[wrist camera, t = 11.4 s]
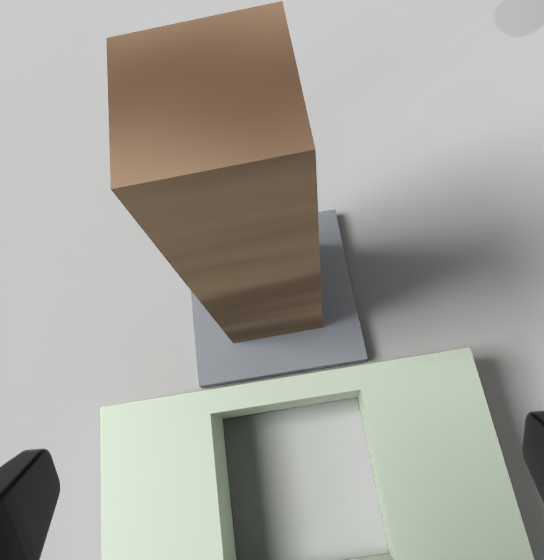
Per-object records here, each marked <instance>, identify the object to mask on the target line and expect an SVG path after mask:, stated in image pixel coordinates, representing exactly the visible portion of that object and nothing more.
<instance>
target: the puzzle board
mask: <svg viewBox="0 0 544 560" xmlns="http://www.w3.org/2000/svg"><path fill="white" fill-rule="evenodd" d="M357 397H358V402H359V406H360V411H361V416H362V421H363V426H364V431H365V436H366V441H367V446H368V451H369V455H370V460H371V465H372V470H373V475H374V480H375V485H376V490H377V495H378V500H379V504H380V509H381V514H382V519H383V524H384V529H385V534H386V539H387V544H388V548H389V553H388V554H381V555H374V556H367V557H360V558H353V559H346V560H534V557H533V554H532V550H531V547H530V544H529V541H528V537H527V534H526V531H525V527H524V524H523V521H522V517H521V514H520V511H519V507H518V504H517V501H516V497H515V494H514V491H513V487H512V484H511V481H510V478H509V474H508V471H507V468H506V464H505V461H504V458H503V454H502V451H501V448H500V444H499V441H498V438H497V434H496V431H495V428H494V425H493V421H492V418H491V415H490V411H489V408H488V405H487V401H486V398H485V395H484V391H483V388H482V385H481V381H480V378H479V375H478V371H477V368H476V365H475V362H474V358H473V355H472V352H471V348H470V347H469V348H463V349H456V350H450V351H444V352H438V353H432V354H426V355H420V356H413V357H407V358H401V359H395V360H389V361H383V362H376V363H370V364H364V365H358V366H352V367H346V368H340V369H333V370H327V371H321V372H315V373H309V374H303V375H296V376H290V377H284V378H278V379H272V380H266V381H260V382H253V383H247V384H241V385H235V386H229V387H223V388H217V389H210V390H204V391H198V392H192V393H186V394H180V395H173V396H167V397H161V398H155V399H149V400H143V401H137V402H130V403H124V404H118V405H112V406H106V407H100V447H101V560H236V550H235V540H234V530H233V520H232V510H231V500H230V490H229V480H228V470H227V460H226V449H225V439H224V429H223V419H225V418H231V417H237V416H244V415H250V414H256V413H263V412H269V411H275V410H281V409H288V408H294V407H300V406H307V405H313V404H319V403H325V402H332V401H338V400H344V399H351V398H357Z"/></svg>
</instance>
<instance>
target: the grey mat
mask: <svg viewBox="0 0 544 560" xmlns="http://www.w3.org/2000/svg"><path fill="white" fill-rule="evenodd" d="M318 224H319V247H320V270H321V293H322V316H323V328H318V329H312V330H306V331H301V332H295V333H289V334H284V335H278V336H272V337H267V338H261V339H255V340H250V341H244V342H238V343H232V341H231V340H230V339H229V338H228V336H227V335H226V334H225V333H224V331H223V330H222V329H221V327H220V326H219V325H218V324H217V322H216V321H215V320H214V319H213V317H212V316H211V315H210V314H209V312H208V311H207V310H206V309H205V307H204V306H203V305H202V303H201V302H200V301H199V300H198V298H197V297H196V296H195V295H194V293H193V292H192V291H191V295H192V307H193V319H194V331H195V343H196V355H197V367H198V379H199V386H200V387H201V388H206V387H212V386H218V385H224V384H230V383H236V382H243V381H249V380H255V379H261V378H267V377H273V376H279V375H286V374H292V373H298V372H304V371H310V370H316V369H322V368H329V367H335V366H341V365H347V364H353V363H359V362H365V361H367V359H368V358H367V353H366V348H365V344H364V339H363V335H362V330H361V326H360V321H359V316H358V312H357V307H356V303H355V298H354V293H353V289H352V284H351V280H350V275H349V271H348V266H347V261H346V257H345V252H344V248H343V243H342V238H341V234H340V229H339V225H338V220H337V216H336V211H335V210H329V211H324V212H318Z"/></svg>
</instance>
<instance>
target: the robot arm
mask: <svg viewBox="0 0 544 560" xmlns="http://www.w3.org/2000/svg"><path fill="white" fill-rule="evenodd" d="M522 452H523V457H524V460H525V463H526V465H527V467H528V469H529V472H530V474H531V476H532V478H533V481H534V483H535V485H536V487H537V489H538V492H539V494H540V496H541V498H542V500H543V503H544V411H535V412H530V413H528V414H527V416H526V420H525V428H524V436H523V445H522ZM59 493H60V482H59V478H58V475H57V472H56V469H55V466H54V463H53V460H52V457H51V454H50V452H49V451H48V450H46V449H33V450H25V451H23V452H21V453H20V454H18V455H17V456H16V457H14V458H13V459H11V460H10V461H8V462H7V463H5V464H4V465H3V466H1V467H0V560H39V559H40V556H41V553H42V550H43V546H44V543H45V540H46V536H47V533H48V530H49V527H50V523H51V520H52V517H53V513H54V510H55V507H56V504H57V500H58V497H59Z"/></svg>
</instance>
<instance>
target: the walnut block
mask: <svg viewBox="0 0 544 560" xmlns="http://www.w3.org/2000/svg"><path fill="white" fill-rule="evenodd" d="M107 68H108V103H109V137H110V172H111V190H112V191H113V192H114V194H115V195H116V196H117V197H118V199H119V200H120V201H121V202H122V204H123V205H124V206H125V208H126V209H127V210H128V211H129V213H130V214H131V215H132V216H133V218H134V219H135V220H136V221H137V223H138V224H139V225H140V226H141V228H142V229H143V230H144V232H145V233H146V234H147V235H148V237H149V238H150V239H151V240H152V242H153V243H154V244H155V245H156V247H157V248H158V249H159V250H160V252H161V253H162V254H163V255H164V257H165V258H166V259H167V261H168V262H169V263H170V264H171V266H172V267H173V268H174V269H175V271H176V272H177V273H178V274H179V276H180V277H181V278H182V279H183V281H184V282H185V283H186V285H187V286H188V287H189V288H190V290H191V291H192V292H193V293H194V295H195V296H196V297H197V298H198V300H199V301H200V302H201V303H202V305H203V306H204V307H205V309H206V310H207V311H208V312H209V314H210V315H211V316H212V317H213V319H214V320H215V321H216V322H217V324H218V325H219V326H220V327H221V329H222V330H223V331H224V333H225V334H226V335H227V336H228V338H229V339H230V340H231V341H232V343H238V342H244V341H250V340H255V339H261V338H267V337H272V336H278V335H284V334H289V333H295V332H301V331H306V330H312V329H318V328H323V316H322V293H321V270H320V247H319V224H318V201H317V178H316V155H315V146H314V142H313V137H312V133H311V128H310V124H309V119H308V115H307V110H306V106H305V101H304V97H303V92H302V88H301V83H300V79H299V74H298V70H297V66H296V61H295V57H294V52H293V48H292V43H291V39H290V34H289V30H288V25H287V21H286V16H285V12H284V7H283V3H282V1H281V2H276V3H271V4H267V5H262V6H257V7H252V8H248V9H243V10H238V11H233V12H229V13H224V14H219V15H214V16H209V17H205V18H200V19H195V20H190V21H186V22H181V23H176V24H171V25H167V26H162V27H157V28H152V29H148V30H143V31H138V32H133V33H129V34H124V35H119V36H114V37H110V38H107Z"/></svg>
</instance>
